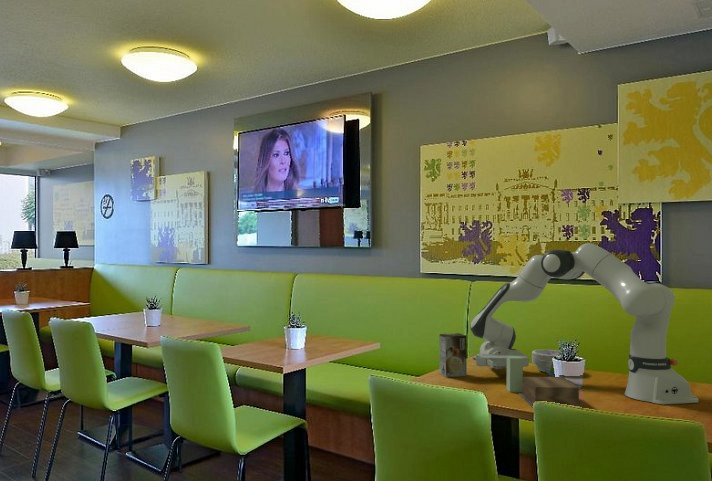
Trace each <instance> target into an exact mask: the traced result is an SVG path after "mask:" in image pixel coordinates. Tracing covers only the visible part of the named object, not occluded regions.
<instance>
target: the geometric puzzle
mask: <svg viewBox="0 0 712 481" xmlns="http://www.w3.org/2000/svg"><path fill="white" fill-rule="evenodd" d="M549 366H550V365H549ZM546 369H547V368H546ZM545 372H547V373H546V374H547V375H548V377H555V374H554V368H553V363H552V365H551V369H547V370H545ZM545 372H544V373H545Z"/></svg>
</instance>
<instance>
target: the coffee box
mask: <svg viewBox="0 0 712 481" xmlns="http://www.w3.org/2000/svg"><path fill="white" fill-rule="evenodd" d="M467 368H468V367H467V335H466V334H464V333H459V332H458V333H440V334H439V375H441V376H443V377H445V378H451V377H452V378H455V377H466V376H467Z"/></svg>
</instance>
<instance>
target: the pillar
mask: <svg viewBox="0 0 712 481" xmlns="http://www.w3.org/2000/svg"><path fill="white" fill-rule="evenodd" d="M523 374H524V367H523V358H522V357H520V356H507V367H506V381H505V382H506V385H505V386H506V388H505V389H506V390H507V391H508V392H509V393H522V377H524V376H523Z"/></svg>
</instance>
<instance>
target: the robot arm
mask: <svg viewBox="0 0 712 481" xmlns="http://www.w3.org/2000/svg"><path fill="white" fill-rule="evenodd" d="M584 274H586V275H588V276H590V277H591V278H592V279H593V280H595V281H596V282H597V283H598V284H600V285H601V286H602V287H604V289H606V290H607V291H608V292H610V294H612V295H613V297H614V298H616V300H617V301H618V302H619V303H620V305H621V307H622V309H623V311H624V312H625V313H627V314H628V315H630V316H633V317H635V318H634V319H635V320H634V323H633V326H632V328H631V330H630V335H629V336H630V337H629V340H630V341H629V343H630V344H629V345H630V346H629V347H630V348H629V349H630V350H629V354H628V379H627V383H626V384H627V385H626V388H625V391H624V396H626V397H628V398H631V399H634V400H638V401H642V402H649V403H653V404H657V405H677V404H678V405H679V404H694V403H697V404H698V403H700V401H699V398H698V397H697V396H696V395H694V394H692V392H691V391H692V390H691V385H690V383H689V382H688V380H687V379H685V378H684V376H682V375H680V374H679V373H678V372H677V371H675V370H674V369H673V368H672V366H673V367H677V365H679V363H678V360H676V359H673V358H671V359H670V358H668V357H667V337H668V336H667V335H668V328H669V325H670V324H669V323H670V319H671V314H672V309H673V307H674V305H675V301H676V298H675V297H676V296H675V294H674V292H673V291H672V289H671V288H669V287H668V286H666V285H664V284H662V283H656V282H654V283H647V282H645V281H643V280H642V279H641V278H640V277H639V276H638V275H637V274H636V273H635V272H634V271H633V269H632V267H631V266H630V265H628V264H626V263H625V262H624V261H622V260H621V259H619V257H616V256H615V255H614V254H612V253H611V252H609V251H608V250H606V249H604V248H603V247H600V246H599V245H596V244H594V243H591V242H586V243H583V244H582V245H580V246H579V247H578V248H577V249H576V250H575V251H570V250H564V249H553V250H549V251H547V252H545V253H544V255H542V254H536V255H533V256H531V257H530V258H529V259H528V261H527V262H526V264H525V265H524V266H523V268H522V269H521V270H520V272H519V274H518V275H517V277H516V278H515V279H514V280H512V281H511V282H506V283H504V284H503V285H502V286H500V288H498V290H497V291H496V292H495V294H494V295H493V296H492V297H491V298H490V299H489V301H488V302H487V303H486V304H485V305H484V307H483V308H482V309H481V310H480V311H479V312H478V313H477V314H476V315H475V316H474V318H472V320H471V323H470V331H471V333H472V335H473V336H474V337H477V338H480V339H483V340H485V341H484V342H483V343H481V345H480V346H479V353H476V354H475V356H472V360H473V361H475V365H476V366H478V367H491V368H493V369H496V370H502V369H507V356H520V357H522V358H523V368H524V367H525V368H526V367H527V368H528V367H529V365H530V358H529V356H528V355H527V354H525V353H524V352H521V351H520V350H519V349H517V348H513V347H514V345H515V342H516V339H517V335H516V330H515V328H514V327H513V325H510V324H508V323H506V322H503V321H501V320H498V319H496V318H494V317H492V316H493V315H494V314H495V313H496V312H497V310H498V309H499V308H500V307H501V306H502V305H503V304H504V303H507V302H524V303H525V302H526V303H527V302H533V301H535V300H537V299H538V298H539V296H541V295H542V292H544V289H545V287H546V286H547V284H548V282H549V281H550V280H551V279H552V278H555V279H560V280H571V281H573V280H578V279H579V278H581V277H583V276H584Z"/></svg>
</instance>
